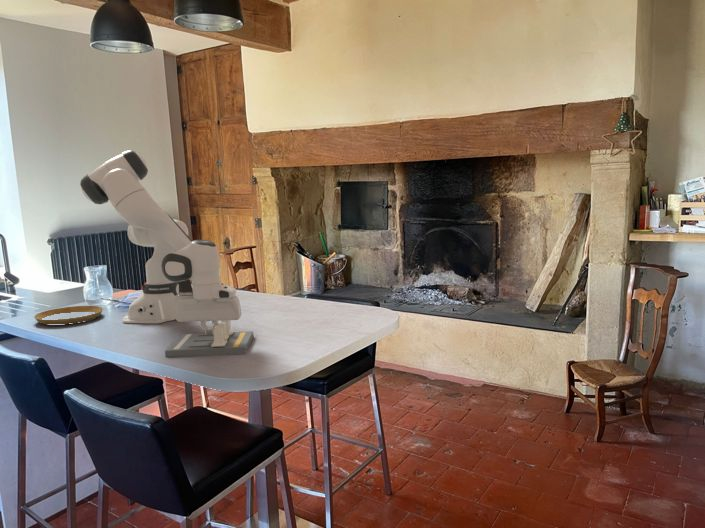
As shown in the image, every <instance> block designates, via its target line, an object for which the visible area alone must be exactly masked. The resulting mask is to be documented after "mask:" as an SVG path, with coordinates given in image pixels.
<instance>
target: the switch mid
mask: <svg viewBox="0 0 705 528" xmlns="http://www.w3.org/2000/svg"><path fill="white" fill-rule="evenodd" d="M217 327H223V331H224V341H227V339H228V338H229V335H226V323H225V322H221V321H220V322H218V323H217V324H216V327H215V328H217Z"/></svg>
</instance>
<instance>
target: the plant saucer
mask: <svg viewBox="0 0 705 528" xmlns="http://www.w3.org/2000/svg"><path fill="white" fill-rule="evenodd" d="M103 310H104V308H103V307H101V306H97V305H73V306H66V307H64V306H63V307H59V308H53V309H49V310H44V311H41V312H39V313H36V314H35V315H33V318H34V319H35V321H37V322H38V323H40V324H41V323H43V324H42V325H44V324H69V323H78V322H83V321H87V322H89V321H88V320H91V319H93V320H95V319H96V317H97V318H98V317H100V315H101V314H102V313H103ZM71 312H95V314H91V315H87V316H82V317H76V318H69V319H58V320H42V318H45V317H47V316H51V315H54V314H60V313H71ZM94 318H95V319H94ZM91 321H92V320H91ZM83 323H84V322H83Z"/></svg>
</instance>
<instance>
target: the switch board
mask: <svg viewBox="0 0 705 528" xmlns="http://www.w3.org/2000/svg"><path fill="white" fill-rule="evenodd" d="M253 338H254V331H252V330H251V331H250V330H249V331H234V332H233V334H232V335H229V338H228V339H227V343H226V345H225V346H219V347H211V345H212V344H213V342H214V334H209V335H205V332H201V333H200V332H198V333H197V332H196V333H180V334H179V335H178V337H177V338H176V339H175V340H174V341H173V342H172V343H171V344H170V345H169V346H168V347H167V348H166V349H165V350H164V354H165V358H168V357H169V358H171V357H172V358H174V357H176V358H177V357H199V356H200V357H201V356H203V357H204V356H225V355H226V356H227V355H229V356H230V355H246V353H247V351H248V349H249V347H250V344H251V342H252V341H253Z"/></svg>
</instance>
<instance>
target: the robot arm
mask: <svg viewBox="0 0 705 528" xmlns="http://www.w3.org/2000/svg"><path fill="white" fill-rule="evenodd" d="M148 172H149V169H148V166H147V162H146V161H145V159H144V158H143V156H141V155H140V153H137V152H136V151H134V150H131V149H129V150H125V151H122V152H121V153H120V154H118V155H116V156H114V157H112V158H110V159H108V160H106V161H104V163H102V164H101V165H99V166H98V167H96V168H95V169H94V170H92V171H91V172H90V173H89V174H86V175H85V176H83V177H82V178H81V180H80V184H79V185H80V187H81V191H82V193H83V195H84V197H85V198H86V199H88V200H89V202H92V203H93V204H96V205H104V204H105V203H106V204H107V203H108V202H110V203H111V205H112V207H114V209H115V211H116V212H117V213H118V215H119V216H120V217H121V218H122V220H124V221H125V223H127V224H128V227H127V237H128V240H129V241H130V242H131V243H132V244H134V245H137V246H141V247H147V248H153V253H152V256H151V258H149V259H148V260H147V261H146V263H145V266H144V267H145V276H146V277H145V278H146V282H144V284H142V286H141V287H140V291H143V293H142V294H141V295H140V296H139V297H138V298H137V299H135V300H134V301H133V302H132V303H131V304H130V303H129V306H128V307H129V308H128V313H127V314H126V315H125V316H124V317H123V318H122V323H123V324H162V323H165V322H170V321H174V320H176V321H177V323H186V322H187V323H189V322H190V323H191V322H194V323H195V322H200V326H201V327H202V329H203V330H204V333H205V335H209V334H214V331H213V330H214V329H215V328H216V324H217V323H219V321H220V322H221V321H223V320H230V321H238V320H239V319H240V318H241V317H242V305H241V303H240V302H241V301H240V299H239V297H238V296H237V295H236V294H237V288H235V287H232V286H229V285H225V284H224V285H222V284H223V283H222V279H221V277H220V271H221V264H220V254H219V250H218V246H217V244H216V243H215V242H213V241H211V240H206V239H195V240H192V239H191V237H190V236H189V229H188V226H187V224H186V223H185V222H184V221H182V220H178V219H174V218H173V217H171V216H170V215H169V213H167V211H165V210H164V209H163V208H162V207H161V206H160V205H159V204H158V203H157V202H156V201H155V200H154V198H153V197H152V196H151V195H150V194H149V192H148V191H147V189H146V188H145V187H144V186H143V185H142V184H141V182H140V181H143V179H145V178H146V176H148ZM188 279H189V280H190V282H191V285H192V290H193V292H186V293H183V292H180V293H179V285H178V282H181V281H184V280H188ZM221 283H222V284H221ZM178 295H179V296H178ZM207 322H211V323H212V325H213V326H212V327H208V325H207V324H206V323H207Z"/></svg>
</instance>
